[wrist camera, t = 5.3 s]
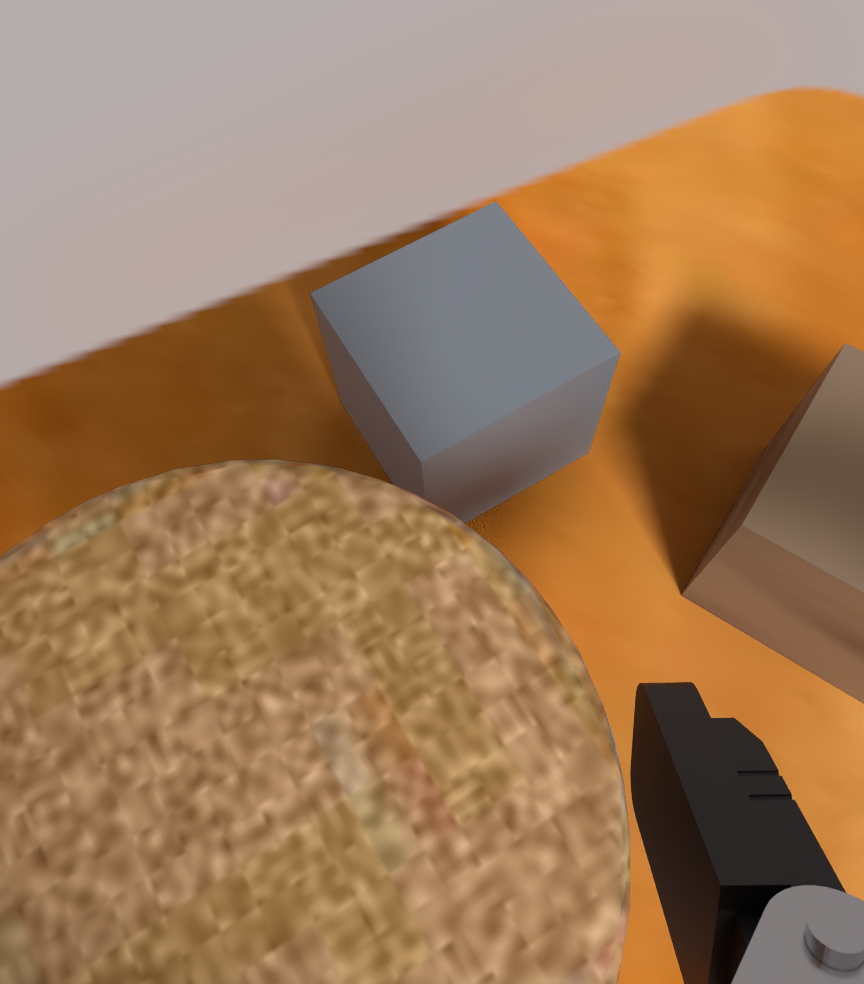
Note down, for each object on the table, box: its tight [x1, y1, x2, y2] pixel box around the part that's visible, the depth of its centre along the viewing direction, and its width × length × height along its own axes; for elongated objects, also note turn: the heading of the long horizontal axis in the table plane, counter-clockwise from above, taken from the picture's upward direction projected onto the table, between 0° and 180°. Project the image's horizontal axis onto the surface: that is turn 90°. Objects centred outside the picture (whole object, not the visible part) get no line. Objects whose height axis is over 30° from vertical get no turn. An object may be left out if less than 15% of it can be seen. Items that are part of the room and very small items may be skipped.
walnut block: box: [681, 343, 864, 703], centre depth 18 cm, size 5×5×5 cm
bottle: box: [0, 459, 630, 984], centre depth 12 cm, size 6×6×15 cm
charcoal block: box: [310, 201, 621, 524], centre depth 20 cm, size 5×5×5 cm
